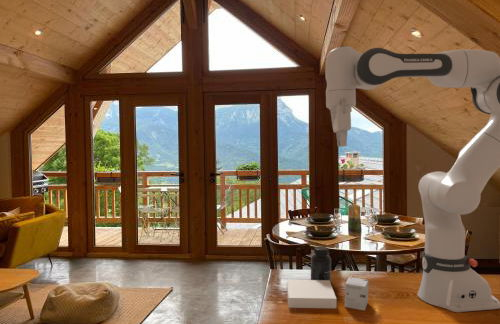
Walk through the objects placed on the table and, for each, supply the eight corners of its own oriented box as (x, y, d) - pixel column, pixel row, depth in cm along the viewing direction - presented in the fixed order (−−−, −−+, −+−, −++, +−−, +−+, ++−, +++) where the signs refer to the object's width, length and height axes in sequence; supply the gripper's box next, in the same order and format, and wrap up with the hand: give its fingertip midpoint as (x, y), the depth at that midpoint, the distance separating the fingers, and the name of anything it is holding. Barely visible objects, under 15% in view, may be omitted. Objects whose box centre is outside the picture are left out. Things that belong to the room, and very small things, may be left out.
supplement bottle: (330, 286, 133) (331, 251, 132) (310, 285, 134) (310, 250, 133) (330, 279, 140) (331, 245, 139) (311, 277, 141) (311, 244, 140)
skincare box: (344, 307, 118) (344, 283, 117) (348, 299, 123) (348, 276, 123) (365, 311, 115) (365, 286, 115) (368, 302, 121) (368, 279, 120)
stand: (329, 289, 131) (329, 280, 131) (336, 308, 117) (336, 298, 117) (286, 288, 132) (286, 279, 131) (288, 307, 118) (288, 297, 117)
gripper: (355, 96, 110) (356, 146, 111) (347, 104, 131) (348, 146, 131) (332, 97, 111) (333, 146, 112) (328, 105, 131) (329, 146, 132)
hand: (341, 146), depth 122 cm, fingers open, 8 cm apart
